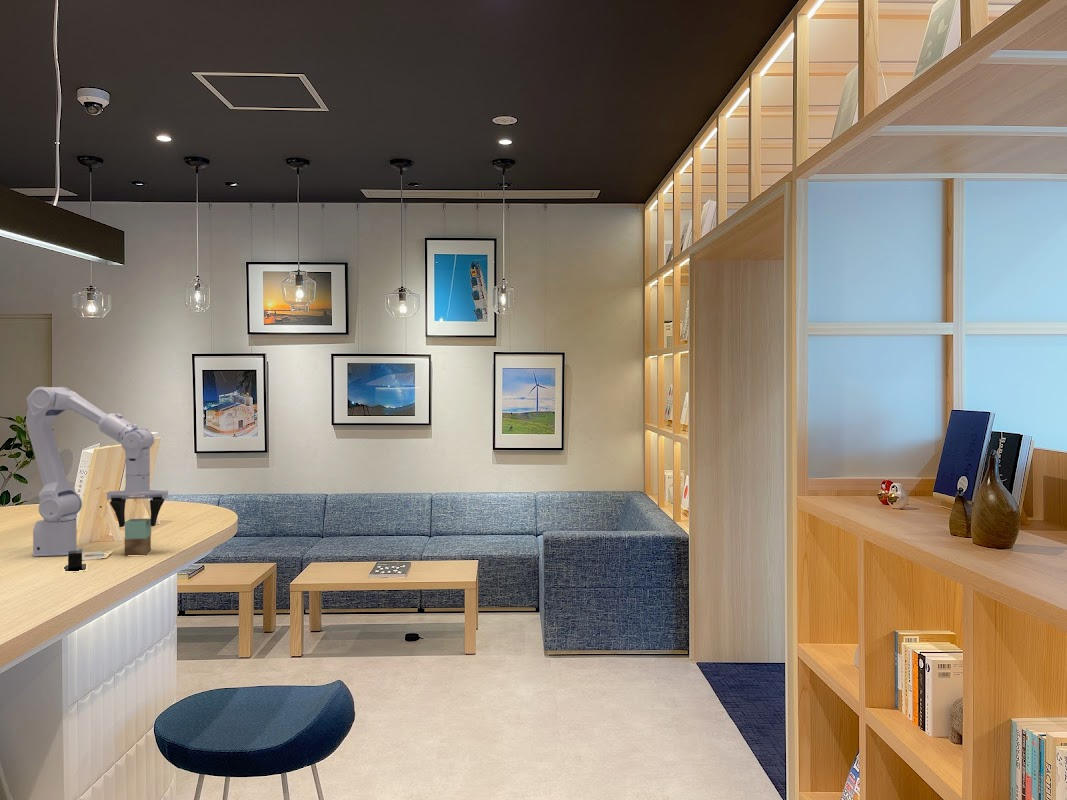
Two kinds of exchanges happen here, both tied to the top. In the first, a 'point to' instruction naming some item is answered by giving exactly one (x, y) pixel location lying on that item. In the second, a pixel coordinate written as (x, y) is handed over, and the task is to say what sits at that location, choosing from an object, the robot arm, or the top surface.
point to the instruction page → (93, 555)
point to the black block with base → (75, 561)
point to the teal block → (137, 528)
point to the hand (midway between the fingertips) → (137, 526)
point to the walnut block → (137, 546)
